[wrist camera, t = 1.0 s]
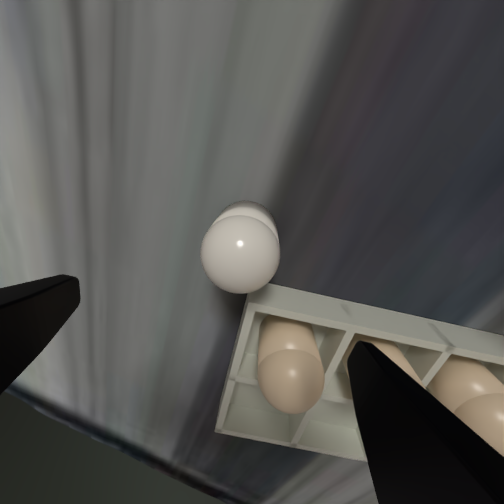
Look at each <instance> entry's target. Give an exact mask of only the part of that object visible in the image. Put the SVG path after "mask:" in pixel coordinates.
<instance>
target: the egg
mask: <svg viewBox="0 0 504 504" xmlns="http://www.w3.org/2000/svg"><path fill="white" fill-rule="evenodd" d="M200 256H201V263H202V266H203V269H204V271H205V273H206V275H207V276H208V278H209V279H210V280H211V281H212V282H213V283H214V284H215V285H216V286H218V287H219V288H221V289H223V290H225V291H227V292H231V293H237V294H244V293H250V292H253V291H256V290H258V289H260V288H261V287H263V286H264V285H266V284H267V283H268V282H269V281H270V280H271V279H272V277H273V276H274V274H275V272H276V271H277V268H278V265H279V261H280V246H279V240H278V233H277V227H276V222H275V220H274V218H273V216H272V214H271V213H270V212H269V211H268V210H267V209H266V208H265V207H264V206H262V205H260V204H258V203H255V202H252V201H239V202H235V203H233V204H231V205H229V206H228V207H226V208H225V209H224V210H223V211H222V212H221V214H220V215H219V216H218V218H217V219H216V220H215V222H214V223H213V224H212V226H211V227H210V229H209V230H208V231H207V233H206V235H205V236H204V239H203V241H202V245H201V252H200Z"/></svg>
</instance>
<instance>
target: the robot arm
mask: <svg viewBox="0 0 504 504" xmlns="http://www.w3.org/2000/svg"><path fill="white" fill-rule="evenodd" d="M79 303H80V287H79V280H78V278H76V277H73V276H69V275H57V276H53V277H48V278H44V279H39V280H35V281H31V282H26V283H22V284H17V285H13V286H9V287H4V288H0V395H1V394H2V393H3V392H4V391H5V389H6V388H7V387H8V386H9V385H10V384H11V383H12V382H13V381H14V380H15V379H16V378H17V377H18V376H19V375H20V374H21V373H22V372H23V371H24V370H25V369H26V368H27V366H28V365H29V364H30V363H31V362H32V361H33V360H34V359H35V358H36V357H37V356H38V355H39V354H40V353H41V352H42V350H43V349H44V348H45V347H46V346H47V345H48V343H49V342H50V341H51V340H52V338H53V337H54V336H55V335H56V333H57V332H58V331H59V330H60V328H61V327H62V326H63V325H64V323H65V322H66V321H67V320H68V318H69V317H70V316H71V315H72V313H73V312H74V311H75V310H76V308H77V307H78V305H79ZM347 369H348V375H349V381H350V387H351V393H352V399H353V405H354V410H355V415H356V419H357V423H358V427H359V431H360V435H361V439H362V442H363V446H364V450H365V454H366V458H367V461H368V465H369V469H370V473H371V477H372V480H373V484H374V488H375V492H376V495H377V499H378V503H379V504H504V457H503V456H502V455H501V454H500V453H499V452H497V451H496V450H495V449H494V448H493V447H492V446H490V445H489V444H488V443H487V442H486V441H485V440H484V439H482V438H481V437H480V436H479V435H478V434H477V433H475V432H474V431H473V430H472V429H471V428H470V427H468V426H467V425H466V424H465V423H464V422H463V421H462V420H460V419H459V418H458V417H457V416H456V415H455V414H453V413H452V412H451V411H450V410H449V409H448V408H446V407H445V406H444V405H443V404H442V403H441V402H440V401H438V400H437V399H436V398H435V397H434V396H433V395H431V394H430V393H429V392H428V391H427V390H426V389H425V388H423V387H422V386H421V385H420V384H419V383H418V382H416V381H415V380H414V379H413V378H412V377H411V376H409V375H408V374H407V373H406V372H405V371H404V370H403V369H401V368H400V367H399V366H398V365H397V364H396V363H394V362H393V361H392V360H391V359H390V358H389V357H388V356H386V355H385V354H384V353H383V352H382V351H381V350H379V349H378V348H377V347H376V346H375V345H374V344H372V343H370V342H366V341H361V340H360V341H357V342H356V344H355V346H354V347H353V349H352V351H351V353H350V355H349V357H348V359H347Z"/></svg>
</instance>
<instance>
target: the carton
mask: <svg viewBox="0 0 504 504" xmlns="http://www.w3.org/2000/svg"><path fill="white" fill-rule="evenodd" d="M360 340H361V341H366V342H370V343H372V344H374V345H375V346H376V347H377V348H378V349H379V350H381V351H382V352H383V353H384V354H385V355H386V356H388V357H389V358H390V359H391V360H392V361H393V362H394V363H396V364H397V365H398V366H399V367H400V368H401V369H403V370H404V371H405V372H406V373H407V374H408V375H409V376H411V377H412V378H413V379H414V380H415V381H416V382H418V383H419V384H420V385H421V386H422V387H423V388H425V389H426V390H427V391H428V392H429V393H430V394H431V395H433V396H434V397H435V398H436V399H437V400H438V401H440V402H441V403H442V404H443V405H444V406H445V407H446V408H448V409H449V410H450V411H451V412H452V413H453V414H455V415H456V416H457V417H458V418H459V419H460V420H462V421H463V422H464V423H465V424H466V425H467V426H468V427H470V428H471V429H472V430H473V431H474V432H475V433H477V434H478V435H479V436H480V437H481V438H482V439H484V440H485V441H486V442H487V443H488V444H489V445H490V446H492V447H493V448H494V449H495V450H496V451H497V452H499V453H500V454H501V455H502V456H503V457H504V336H503V335H499V334H494V333H490V332H485V331H481V330H476V329H472V328H467V327H463V326H458V325H454V324H449V323H445V322H440V321H436V320H431V319H427V318H423V317H418V316H414V315H409V314H405V313H400V312H396V311H391V310H387V309H382V308H378V307H373V306H369V305H364V304H360V303H355V302H351V301H346V300H342V299H337V298H333V297H328V296H324V295H319V294H315V293H310V292H306V291H301V290H297V289H292V288H288V287H283V286H279V285H274V284H270V283H267V284H266V285H264V286H263V287H261V288H260V289H258V290H256V291H253V292H250V293H248V294H247V298H246V301H245V305H244V309H243V313H242V317H241V321H240V325H239V329H238V333H237V337H236V341H235V344H234V348H233V352H232V356H231V360H230V364H229V368H228V372H227V376H226V380H225V384H224V387H223V391H222V395H221V399H220V404H219V410H218V415H217V421H216V426H215V432H217V433H222V434H227V435H232V436H238V437H243V438H248V439H253V440H258V441H263V442H268V443H273V444H278V445H283V446H288V447H293V448H299V449H304V450H309V451H314V452H319V453H324V454H329V455H334V456H339V457H344V458H349V459H354V460H360V461H365V462H368V461H367V458H366V454H365V450H364V446H363V442H362V439H361V435H360V431H359V427H358V423H357V419H356V415H355V410H354V405H353V399H352V393H351V387H350V381H349V375H348V369H347V359H348V357H349V355H350V353H351V351H352V349H353V347H354V346H355V344H356V342H357V341H360Z"/></svg>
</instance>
